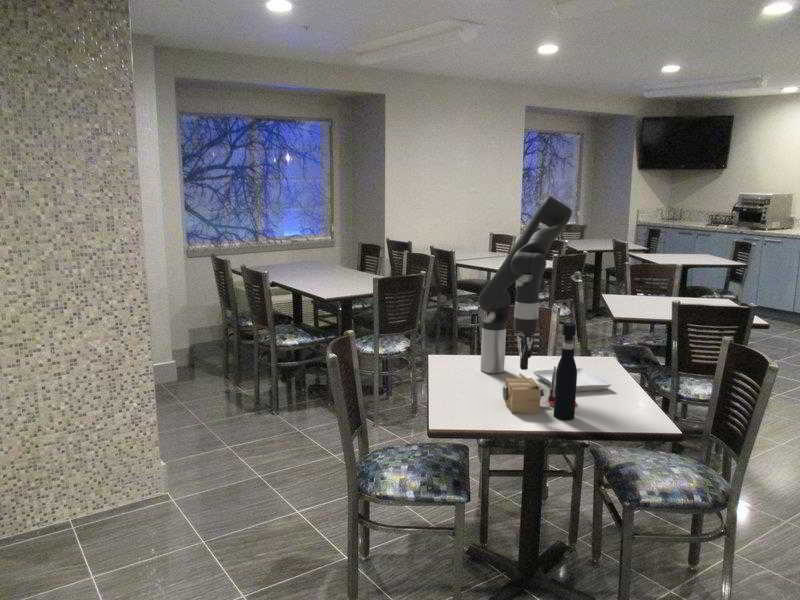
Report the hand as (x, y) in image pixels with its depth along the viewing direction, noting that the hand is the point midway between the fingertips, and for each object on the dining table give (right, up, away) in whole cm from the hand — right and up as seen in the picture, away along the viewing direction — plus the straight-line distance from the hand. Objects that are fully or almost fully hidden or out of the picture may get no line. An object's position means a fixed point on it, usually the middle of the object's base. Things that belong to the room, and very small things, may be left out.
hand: (523, 369), depth 204 cm
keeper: (+1, -4, +1) cm, 4 cm away
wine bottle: (+12, -15, -2) cm, 20 cm away
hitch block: (+1, -13, +7) cm, 15 cm away
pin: (+1, -11, +9) cm, 14 cm away
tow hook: (+15, -13, +10) cm, 22 cm away
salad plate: (+23, -10, +31) cm, 40 cm away
